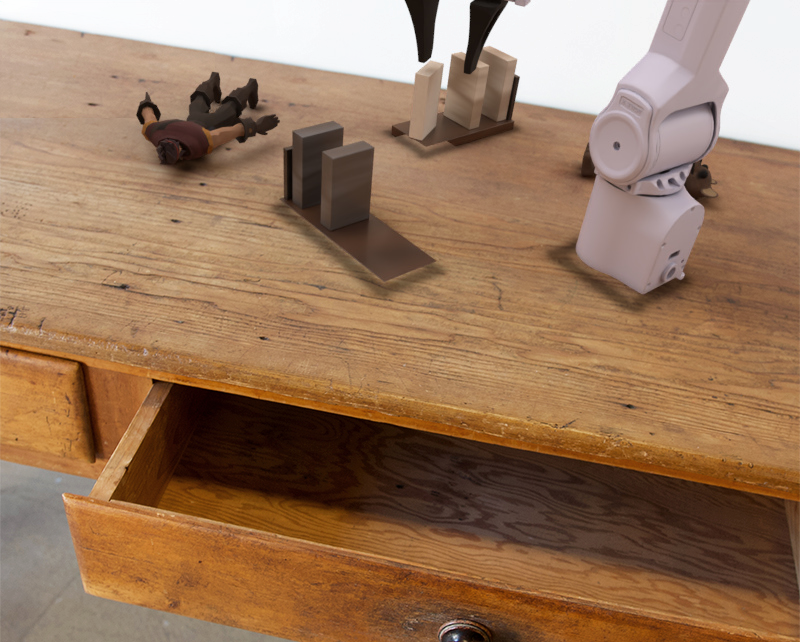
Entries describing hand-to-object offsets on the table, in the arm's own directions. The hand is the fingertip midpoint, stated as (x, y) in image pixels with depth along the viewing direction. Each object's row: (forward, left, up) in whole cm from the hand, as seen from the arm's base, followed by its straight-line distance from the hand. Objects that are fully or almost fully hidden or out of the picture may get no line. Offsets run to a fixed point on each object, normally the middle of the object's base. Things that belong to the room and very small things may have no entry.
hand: (447, 65), depth 79 cm
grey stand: (-10, +19, -9) cm, 24 cm away
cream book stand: (+2, -5, -9) cm, 10 cm away
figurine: (+14, +21, -9) cm, 27 cm away
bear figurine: (-18, -15, -9) cm, 25 cm away
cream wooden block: (+2, 0, -8) cm, 8 cm away
